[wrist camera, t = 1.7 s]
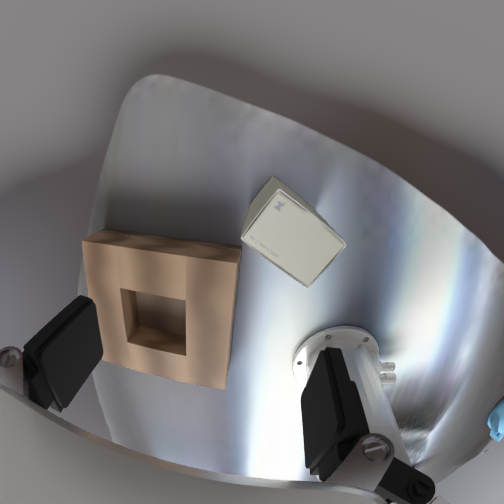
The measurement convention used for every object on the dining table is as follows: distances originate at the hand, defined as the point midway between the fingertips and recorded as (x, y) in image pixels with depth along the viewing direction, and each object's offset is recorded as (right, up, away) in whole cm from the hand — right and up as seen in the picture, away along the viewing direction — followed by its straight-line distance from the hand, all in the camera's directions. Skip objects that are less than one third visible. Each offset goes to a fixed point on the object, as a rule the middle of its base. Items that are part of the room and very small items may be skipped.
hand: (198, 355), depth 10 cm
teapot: (+77, -41, +33) cm, 93 cm away
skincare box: (+5, +9, +19) cm, 22 cm away
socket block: (-9, -3, +24) cm, 26 cm away
